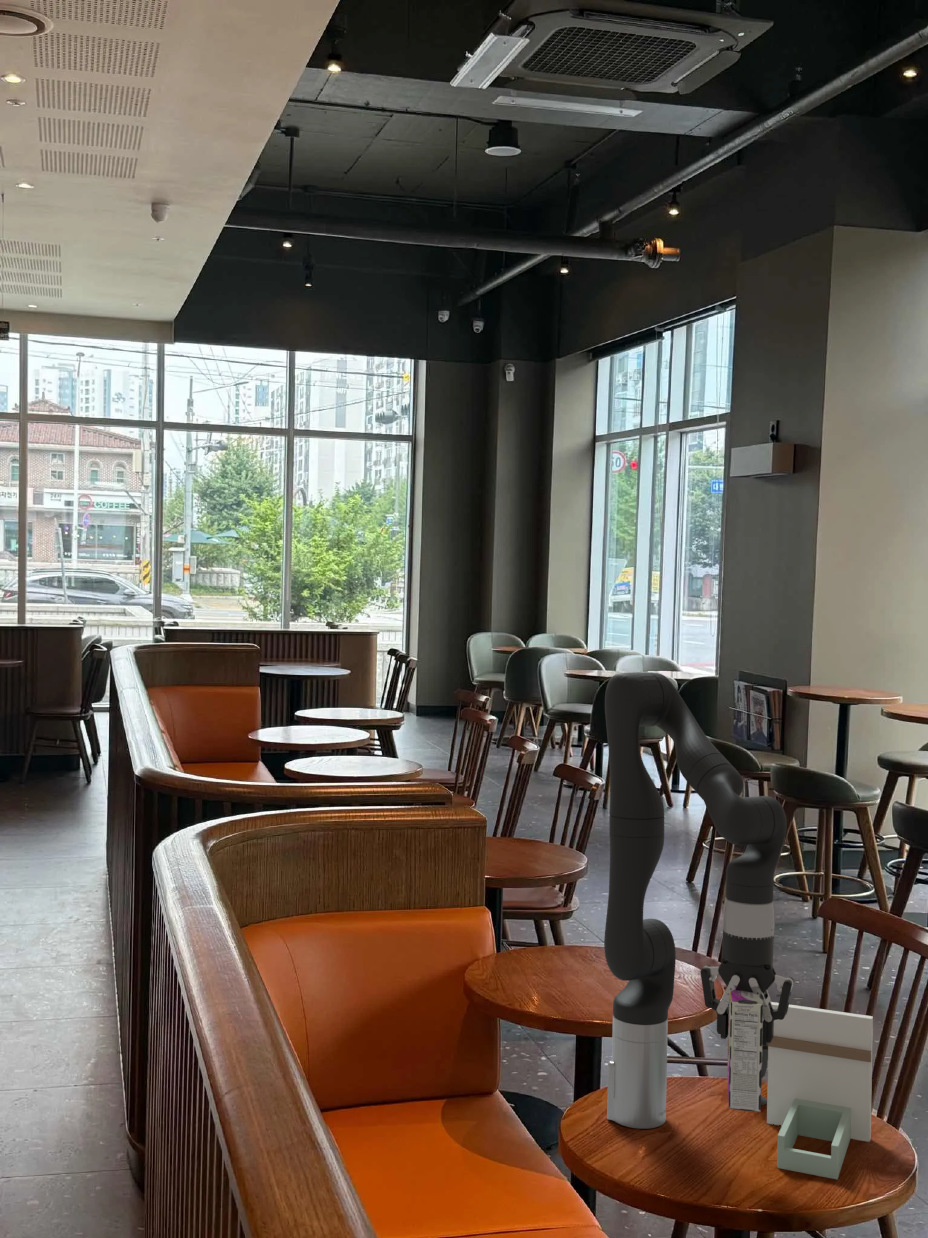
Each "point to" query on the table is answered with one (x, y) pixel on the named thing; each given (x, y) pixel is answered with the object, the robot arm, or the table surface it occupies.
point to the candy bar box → (745, 1051)
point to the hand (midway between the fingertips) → (744, 1040)
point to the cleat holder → (819, 1085)
